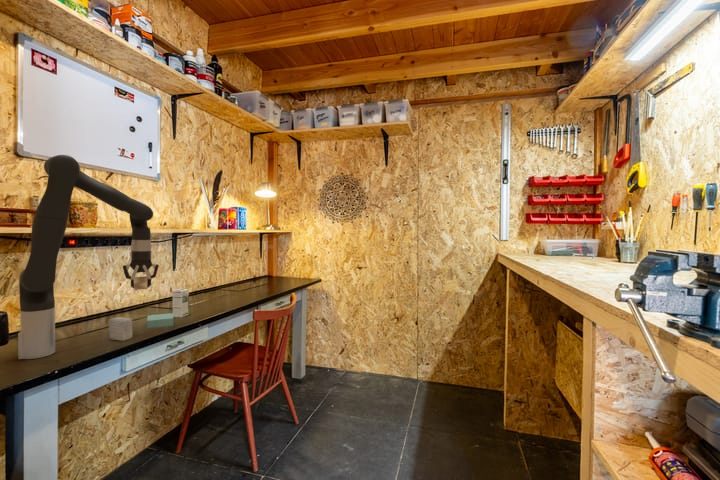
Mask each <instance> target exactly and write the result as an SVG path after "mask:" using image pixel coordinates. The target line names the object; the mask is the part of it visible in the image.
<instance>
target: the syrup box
mask: <svg viewBox="0 0 720 480" xmlns="http://www.w3.org/2000/svg"><path fill="white" fill-rule="evenodd" d="M189 296H190V289H189V288H178V289H174V290H172V313H173V318H184V317H185V316H189V315H190V298H189Z"/></svg>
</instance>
